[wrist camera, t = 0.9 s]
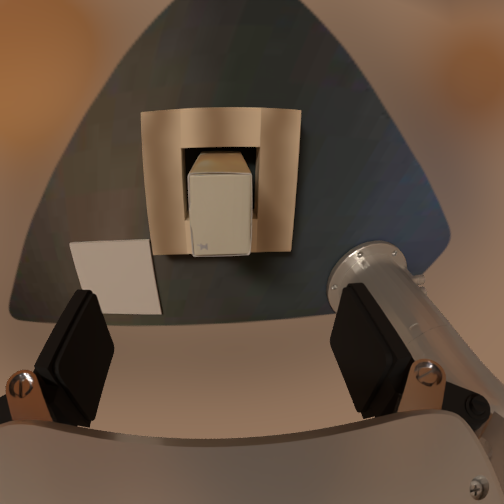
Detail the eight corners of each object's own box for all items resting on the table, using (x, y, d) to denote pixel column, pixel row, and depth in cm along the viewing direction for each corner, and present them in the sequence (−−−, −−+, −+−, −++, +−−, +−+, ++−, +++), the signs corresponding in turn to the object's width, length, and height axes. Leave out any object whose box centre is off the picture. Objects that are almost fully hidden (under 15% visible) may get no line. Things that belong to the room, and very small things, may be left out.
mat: (149, 239, 32) (148, 240, 32) (161, 312, 38) (161, 314, 37) (70, 242, 31) (69, 243, 31) (91, 310, 37) (90, 312, 36)
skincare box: (240, 205, 32) (252, 260, 21) (201, 206, 31) (191, 261, 21) (241, 147, 29) (254, 172, 18) (199, 148, 28) (186, 173, 18)
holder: (293, 109, 27) (301, 110, 25) (285, 239, 34) (290, 251, 32) (148, 111, 26) (140, 112, 23) (158, 242, 33) (153, 254, 30)
